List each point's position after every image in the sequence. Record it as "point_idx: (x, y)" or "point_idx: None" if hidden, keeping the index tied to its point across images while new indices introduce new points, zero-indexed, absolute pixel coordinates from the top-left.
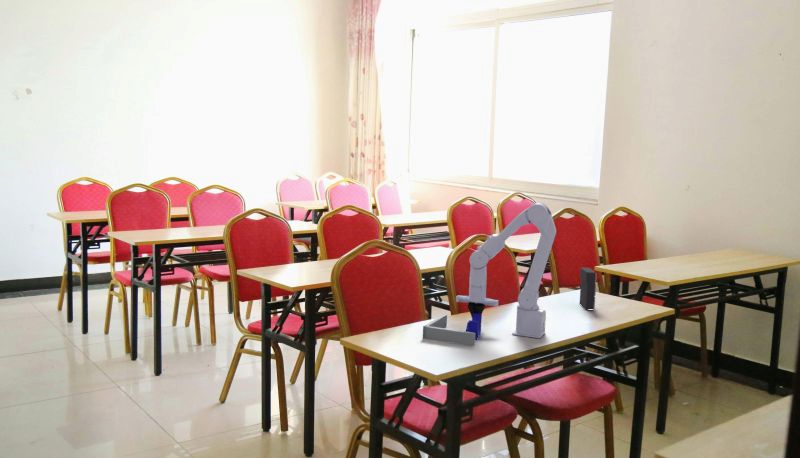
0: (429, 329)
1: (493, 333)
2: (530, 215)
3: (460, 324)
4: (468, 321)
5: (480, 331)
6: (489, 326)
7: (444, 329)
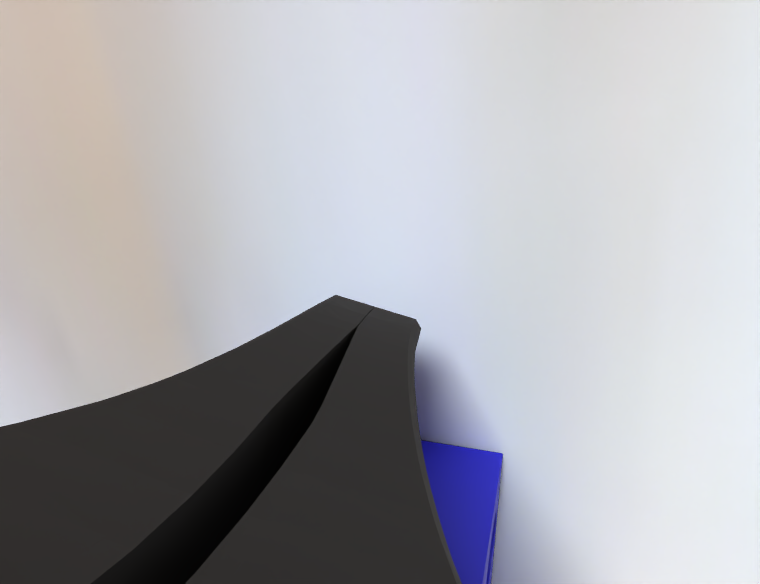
0: None
1: (752, 563)
2: None
3: (35, 47)
4: None
5: (494, 540)
6: (728, 2)
7: None
